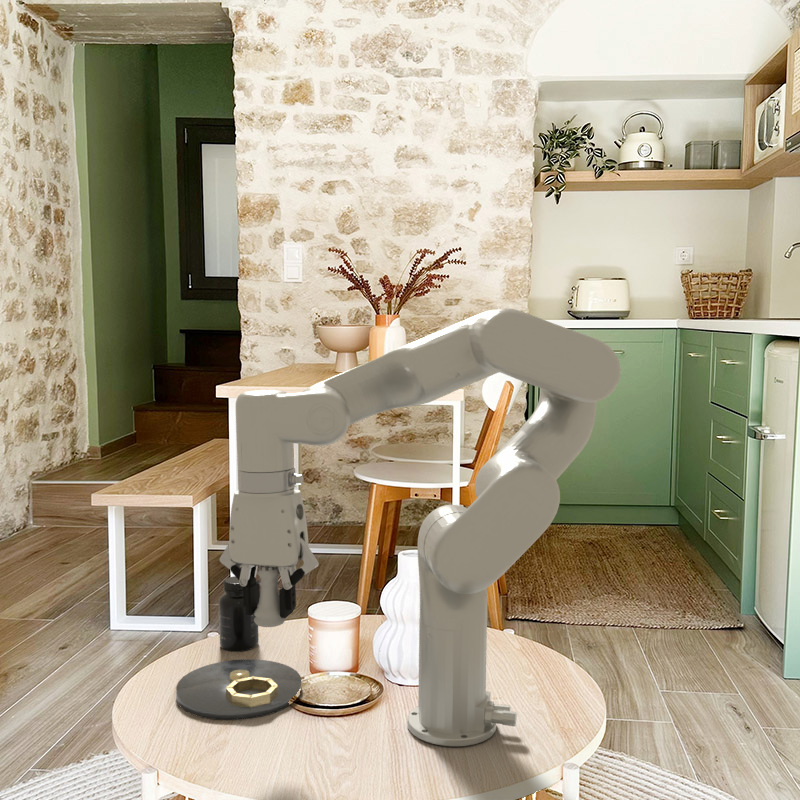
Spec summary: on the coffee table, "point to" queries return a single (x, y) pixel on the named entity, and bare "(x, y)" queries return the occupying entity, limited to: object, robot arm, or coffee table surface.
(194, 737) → the coffee table surface
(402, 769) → the coffee table surface
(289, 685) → the carrier plate
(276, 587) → the rook chess piece
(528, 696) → the coffee table surface
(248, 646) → the supplement bottle
